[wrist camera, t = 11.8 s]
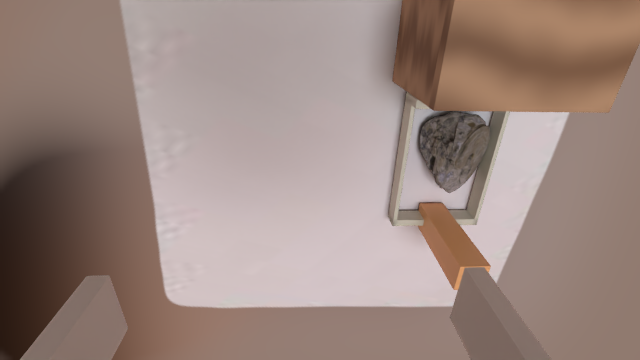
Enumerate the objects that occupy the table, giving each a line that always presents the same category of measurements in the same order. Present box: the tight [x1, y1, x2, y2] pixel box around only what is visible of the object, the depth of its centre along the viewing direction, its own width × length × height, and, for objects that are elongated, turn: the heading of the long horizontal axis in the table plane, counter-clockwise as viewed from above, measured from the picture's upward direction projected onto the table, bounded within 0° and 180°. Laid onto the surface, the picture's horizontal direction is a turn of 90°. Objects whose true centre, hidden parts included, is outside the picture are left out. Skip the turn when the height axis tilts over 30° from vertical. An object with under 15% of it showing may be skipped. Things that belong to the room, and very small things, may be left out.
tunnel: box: [393, 0, 640, 113], centre depth 33 cm, size 9×16×14 cm, turn 88°
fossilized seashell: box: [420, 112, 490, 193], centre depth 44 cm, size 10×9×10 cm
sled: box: [388, 92, 510, 290], centre depth 39 cm, size 20×12×14 cm, turn 178°
